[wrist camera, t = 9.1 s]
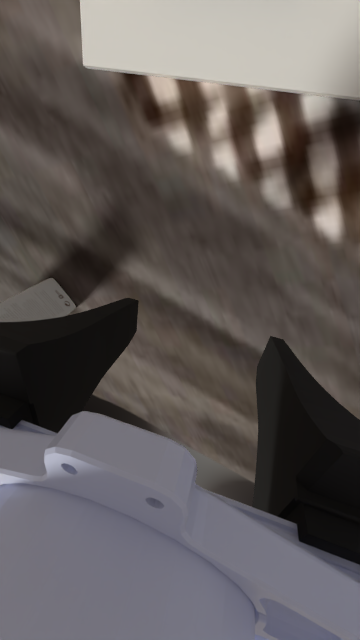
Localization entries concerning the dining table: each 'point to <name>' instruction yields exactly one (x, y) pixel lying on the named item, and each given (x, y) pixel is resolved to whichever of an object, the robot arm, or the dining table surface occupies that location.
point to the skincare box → (37, 303)
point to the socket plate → (229, 42)
